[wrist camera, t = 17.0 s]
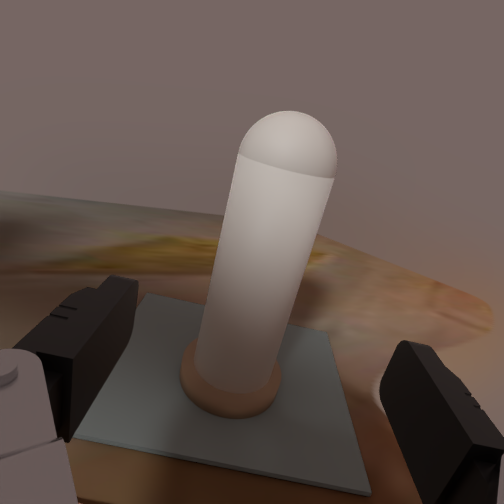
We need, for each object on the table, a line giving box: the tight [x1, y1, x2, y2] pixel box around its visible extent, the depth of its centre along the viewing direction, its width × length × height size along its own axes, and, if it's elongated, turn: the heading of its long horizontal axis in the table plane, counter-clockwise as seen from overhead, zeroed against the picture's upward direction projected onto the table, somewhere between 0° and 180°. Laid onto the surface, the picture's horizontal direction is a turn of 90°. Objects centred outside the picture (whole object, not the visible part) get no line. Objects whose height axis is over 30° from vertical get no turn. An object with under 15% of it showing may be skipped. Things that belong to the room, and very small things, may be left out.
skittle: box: [179, 111, 337, 419], centre depth 20 cm, size 6×6×16 cm
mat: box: [73, 293, 372, 497], centre depth 24 cm, size 16×14×1 cm
